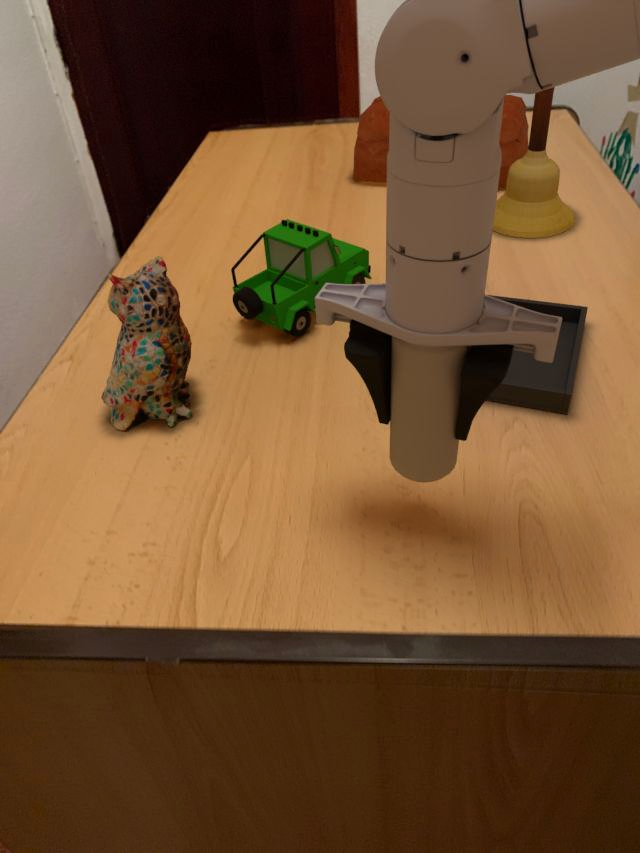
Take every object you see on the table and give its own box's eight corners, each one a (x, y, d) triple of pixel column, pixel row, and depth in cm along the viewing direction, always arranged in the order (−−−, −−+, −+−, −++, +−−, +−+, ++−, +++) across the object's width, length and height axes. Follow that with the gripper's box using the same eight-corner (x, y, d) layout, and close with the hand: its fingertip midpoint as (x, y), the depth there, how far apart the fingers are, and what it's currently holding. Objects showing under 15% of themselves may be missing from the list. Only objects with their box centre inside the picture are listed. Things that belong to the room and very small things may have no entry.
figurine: (136, 375, 69) (92, 243, 59) (216, 381, 67) (184, 245, 57) (99, 429, 63) (43, 291, 53) (185, 437, 61) (144, 295, 51)
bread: (371, 151, 115) (369, 85, 108) (530, 155, 107) (539, 84, 100) (346, 186, 104) (342, 115, 97) (521, 193, 96) (530, 117, 89)
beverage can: (383, 480, 47) (384, 339, 39) (396, 435, 50) (400, 297, 42) (451, 492, 45) (467, 349, 37) (460, 445, 49) (476, 305, 41)
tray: (583, 325, 69) (588, 306, 68) (567, 414, 59) (571, 394, 58) (442, 307, 74) (443, 289, 73) (404, 386, 64) (404, 367, 63)
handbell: (592, 230, 86) (636, 5, 69) (500, 243, 85) (524, 20, 68) (552, 194, 95) (583, -11, 79) (469, 206, 94) (483, 2, 78)
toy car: (377, 290, 78) (375, 209, 72) (274, 357, 70) (260, 272, 63) (326, 271, 83) (319, 193, 77) (223, 331, 74) (205, 250, 68)
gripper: (583, 220, 37) (542, 407, 46) (339, 195, 41) (345, 370, 50) (570, 282, 32) (527, 477, 41) (295, 246, 36) (311, 429, 45)
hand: (425, 422), depth 45 cm, fingers closed on beverage can, 5 cm apart
